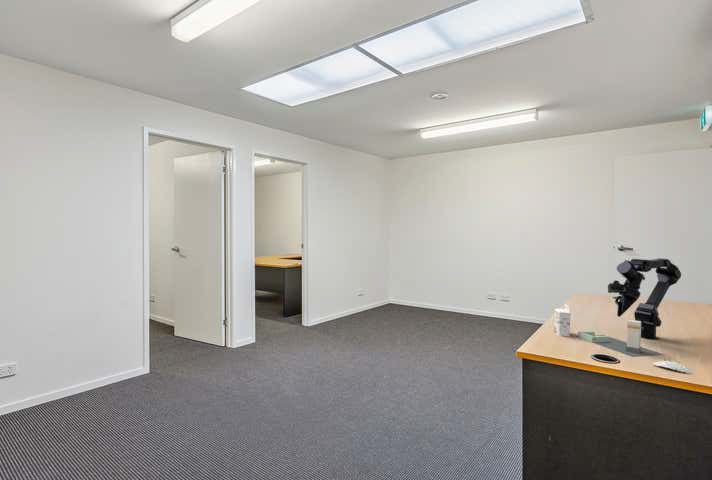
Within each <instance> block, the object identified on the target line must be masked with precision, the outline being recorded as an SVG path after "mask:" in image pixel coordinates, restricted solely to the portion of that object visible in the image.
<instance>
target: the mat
mask: <svg viewBox="0 0 712 480" xmlns="http://www.w3.org/2000/svg"><path fill="white" fill-rule="evenodd" d="M597 336H606V335H605V334H599V335H598V334H597ZM574 337H575V338H578V339H580V340H583V341H587V342H589V343H592V344H595V345H598V346H601V347H603V348H607V349H608V350H612V351H615V352H618V353H621V354H624V355H626V356H629V357H631V358H639V357H651V356H652V357H653V356H666V355H665V353H661V352H658V351H656V350H652V349H650V348H649V349H648V348H645V347H642V346H641V352H640V353H639V354H638V353H633V352H627V351H626V346H627V341H624V340H620V339H617V338H615V337H611V336H609V342H597V343H593V342H590V341H588V340H585V339H582V338H579V337H578V336H577V335H575V336H574Z"/></svg>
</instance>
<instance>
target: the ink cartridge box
mask: <svg viewBox="0 0 712 480" xmlns="http://www.w3.org/2000/svg"><path fill="white" fill-rule="evenodd" d="M553 330H554V331H553V332H554V333H556V335H557V336H559V337H571V306H570V305H568V304H567V303H564V308H554V326H553Z"/></svg>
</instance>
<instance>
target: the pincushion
mask: <svg viewBox="0 0 712 480" xmlns="http://www.w3.org/2000/svg"><path fill="white" fill-rule="evenodd" d="M671 357H672V356H669V357H668V360H659V361H656V362H653V363H651V365H653V366H656V367H663V368H664V369H665V370H666V368H667V369H669V370H673V371H678V372H681V373H686V374H689V375H692V374H693V372H692V371H691V369H689V368H688V367H686V366H684V365H682V364H681V363H680V362H677V361H672V360H670V359H671ZM673 357H674V359H675V353H674V356H673Z"/></svg>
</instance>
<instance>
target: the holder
mask: <svg viewBox="0 0 712 480" xmlns="http://www.w3.org/2000/svg"><path fill="white" fill-rule="evenodd" d="M597 335H598V334H597ZM597 335H596V334H595V331H593V330H590V331H578V337H579V338H578V337H577V338H578V339H581V338H582V339H581V340H583V339H585V340H584V341H586V340H588V341H587V342H589V341H590V342H589V343H592V342H593V343H592V344H595V343H597V342H609V337H610V335H605V336H597Z"/></svg>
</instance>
